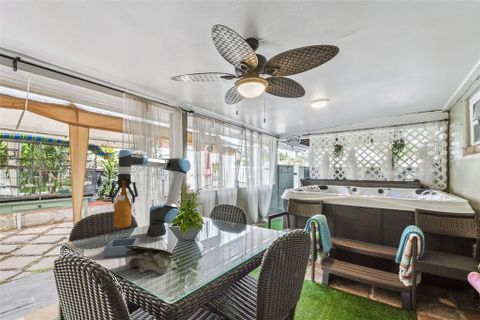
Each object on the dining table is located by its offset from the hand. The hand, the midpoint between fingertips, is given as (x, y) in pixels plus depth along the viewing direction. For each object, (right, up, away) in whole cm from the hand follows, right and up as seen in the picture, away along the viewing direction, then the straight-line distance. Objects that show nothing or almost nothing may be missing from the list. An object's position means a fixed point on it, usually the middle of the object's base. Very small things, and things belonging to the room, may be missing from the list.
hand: (123, 208), depth 138 cm
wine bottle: (0, -12, -1) cm, 12 cm away
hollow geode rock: (+26, -27, -24) cm, 44 cm away
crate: (0, -28, -2) cm, 28 cm away
